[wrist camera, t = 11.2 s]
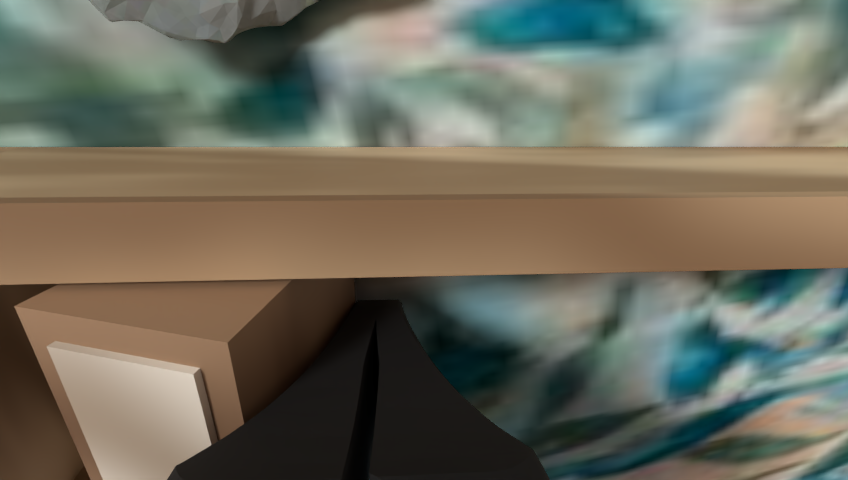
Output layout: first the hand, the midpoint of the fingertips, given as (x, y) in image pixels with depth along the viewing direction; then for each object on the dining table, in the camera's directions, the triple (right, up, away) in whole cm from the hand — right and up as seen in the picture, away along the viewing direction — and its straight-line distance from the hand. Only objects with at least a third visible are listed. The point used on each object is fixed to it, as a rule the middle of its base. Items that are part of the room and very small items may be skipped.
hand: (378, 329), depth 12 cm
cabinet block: (-3, +1, 0) cm, 3 cm away
